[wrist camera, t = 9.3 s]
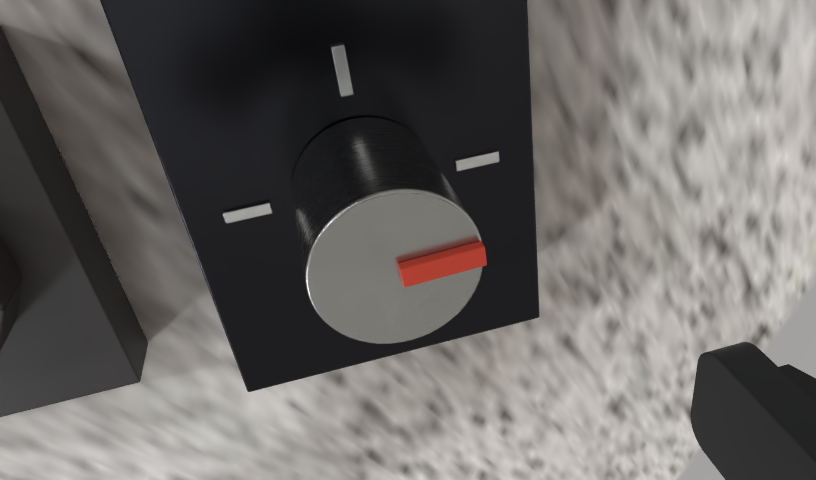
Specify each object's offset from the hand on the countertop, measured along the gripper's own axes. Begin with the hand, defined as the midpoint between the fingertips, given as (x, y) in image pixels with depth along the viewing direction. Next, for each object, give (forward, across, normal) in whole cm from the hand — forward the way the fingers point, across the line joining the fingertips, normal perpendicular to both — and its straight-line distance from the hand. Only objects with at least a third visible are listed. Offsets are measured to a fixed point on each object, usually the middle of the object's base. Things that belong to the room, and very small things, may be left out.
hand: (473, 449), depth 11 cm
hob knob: (+11, 0, 0) cm, 11 cm away
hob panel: (+14, 0, 0) cm, 14 cm away
